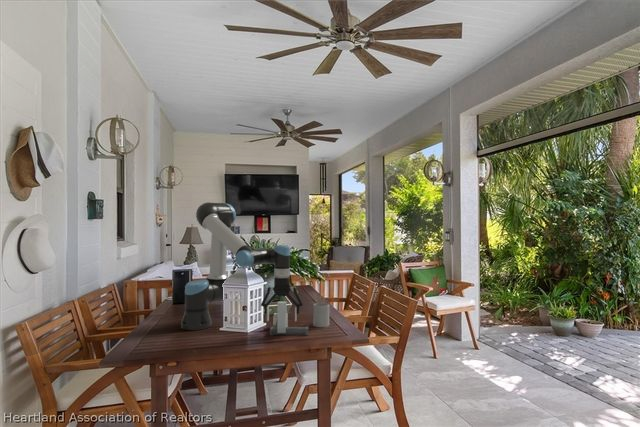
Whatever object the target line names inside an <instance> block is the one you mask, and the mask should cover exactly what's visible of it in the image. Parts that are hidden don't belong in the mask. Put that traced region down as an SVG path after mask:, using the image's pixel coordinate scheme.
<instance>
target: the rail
mask: <svg viewBox="0 0 640 427" xmlns="http://www.w3.org/2000/svg"><path fill="white" fill-rule="evenodd" d="M274 335H275V336H276V335H279V336H280V335H282V336H283V335H285V336H286V335H288V336H289V335H292V336H293V335H295V336H296V335H301V336H302V335H305V336H309V326H308V325H307V326H300V327H299V326H294V327H293V326H288V327H286V333H277V327H273V326H270V329H269V336H274Z"/></svg>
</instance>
